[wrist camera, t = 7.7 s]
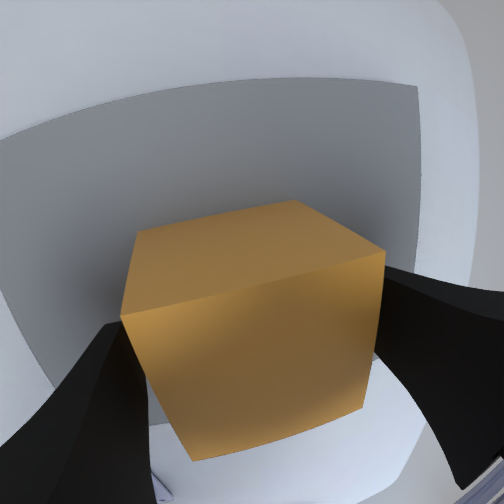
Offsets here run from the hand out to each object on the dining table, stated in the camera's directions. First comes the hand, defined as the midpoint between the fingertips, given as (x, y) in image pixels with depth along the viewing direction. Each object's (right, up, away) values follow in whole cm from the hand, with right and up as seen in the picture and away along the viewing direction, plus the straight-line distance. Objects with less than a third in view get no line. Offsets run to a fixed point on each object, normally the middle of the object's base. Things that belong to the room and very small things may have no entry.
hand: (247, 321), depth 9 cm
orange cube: (-1, +1, +2) cm, 2 cm away
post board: (-1, +1, +3) cm, 4 cm away
